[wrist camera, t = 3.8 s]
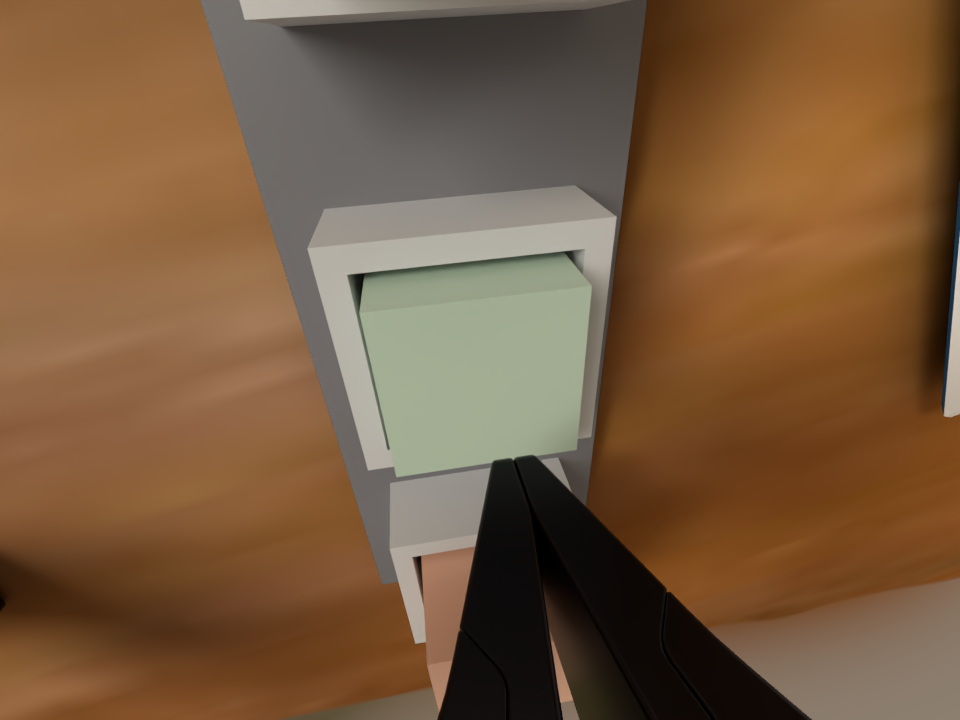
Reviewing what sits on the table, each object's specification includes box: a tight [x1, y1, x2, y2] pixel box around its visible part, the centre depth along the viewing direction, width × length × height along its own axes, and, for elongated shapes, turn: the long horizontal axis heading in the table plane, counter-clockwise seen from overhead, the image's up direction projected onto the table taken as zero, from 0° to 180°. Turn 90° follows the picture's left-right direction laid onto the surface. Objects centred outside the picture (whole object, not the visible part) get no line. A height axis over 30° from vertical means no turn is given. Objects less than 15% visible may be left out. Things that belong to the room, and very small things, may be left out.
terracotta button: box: [421, 547, 573, 712], centre depth 17 cm, size 5×5×4 cm
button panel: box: [201, 0, 647, 644], centre depth 14 cm, size 10×29×4 cm, turn 3°
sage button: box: [359, 251, 592, 477], centre depth 13 cm, size 5×5×4 cm
